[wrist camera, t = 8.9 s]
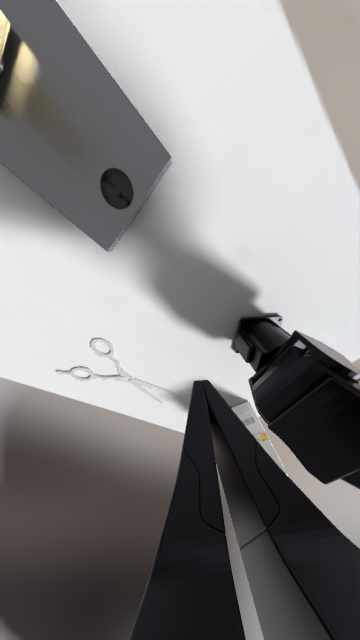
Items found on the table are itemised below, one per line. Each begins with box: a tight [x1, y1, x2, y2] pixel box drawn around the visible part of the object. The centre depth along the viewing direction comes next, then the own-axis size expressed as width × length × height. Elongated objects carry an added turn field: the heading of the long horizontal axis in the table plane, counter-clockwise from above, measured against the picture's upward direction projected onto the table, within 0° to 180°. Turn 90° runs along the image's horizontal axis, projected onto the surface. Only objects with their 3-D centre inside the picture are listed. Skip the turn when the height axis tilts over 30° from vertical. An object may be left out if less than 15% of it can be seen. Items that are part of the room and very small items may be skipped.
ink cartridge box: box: [231, 402, 289, 477], centre depth 27 cm, size 9×5×15 cm, turn 119°
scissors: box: [56, 338, 175, 404], centre depth 26 cm, size 11×1×20 cm
